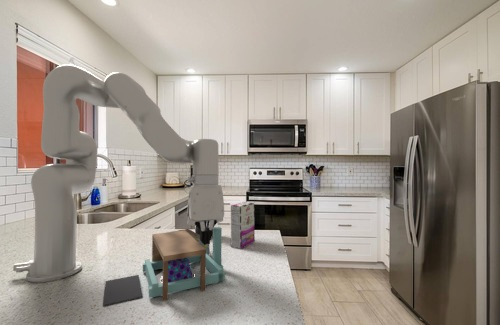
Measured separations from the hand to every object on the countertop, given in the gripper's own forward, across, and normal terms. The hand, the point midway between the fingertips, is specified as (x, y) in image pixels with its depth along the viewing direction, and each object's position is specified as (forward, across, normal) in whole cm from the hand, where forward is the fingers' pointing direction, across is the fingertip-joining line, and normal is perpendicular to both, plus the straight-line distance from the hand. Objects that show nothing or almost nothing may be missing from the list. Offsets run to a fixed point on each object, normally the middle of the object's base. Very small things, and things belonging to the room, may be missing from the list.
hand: (205, 243), depth 71 cm
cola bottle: (+9, +12, +36) cm, 39 cm away
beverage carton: (+9, 0, +20) cm, 22 cm away
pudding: (+9, -8, 0) cm, 12 cm away
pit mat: (+8, -22, 0) cm, 23 cm away
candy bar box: (+9, +22, +18) cm, 29 cm away
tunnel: (+8, -8, 0) cm, 12 cm away
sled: (+8, -6, 0) cm, 10 cm away
